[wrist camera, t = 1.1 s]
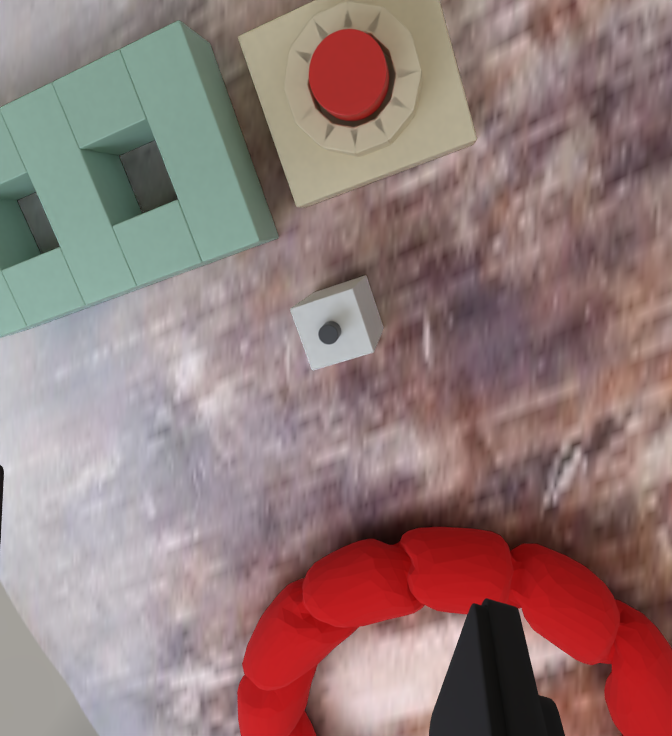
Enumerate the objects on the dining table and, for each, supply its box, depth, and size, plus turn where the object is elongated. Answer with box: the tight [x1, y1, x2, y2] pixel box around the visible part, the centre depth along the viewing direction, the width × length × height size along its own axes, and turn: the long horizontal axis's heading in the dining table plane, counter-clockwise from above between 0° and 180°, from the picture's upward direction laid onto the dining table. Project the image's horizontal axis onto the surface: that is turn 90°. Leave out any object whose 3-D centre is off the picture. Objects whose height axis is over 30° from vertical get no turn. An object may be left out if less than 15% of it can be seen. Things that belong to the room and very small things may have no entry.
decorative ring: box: [237, 527, 672, 736], centre depth 38 cm, size 7×30×30 cm
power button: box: [309, 29, 389, 121], centre depth 26 cm, size 4×4×2 cm
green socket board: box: [0, 20, 279, 338], centre depth 33 cm, size 19×11×4 cm, turn 109°
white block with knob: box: [290, 275, 384, 370], centre depth 31 cm, size 3×3×7 cm
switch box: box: [238, 0, 477, 207], centre depth 29 cm, size 10×9×4 cm
